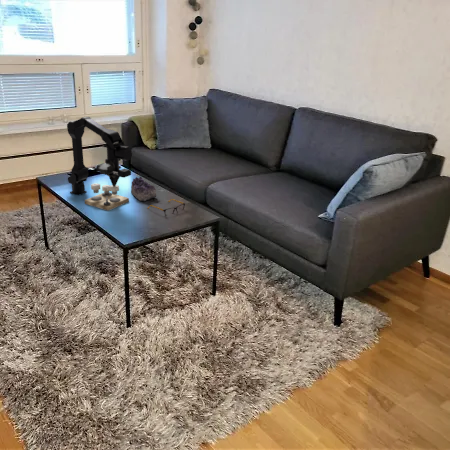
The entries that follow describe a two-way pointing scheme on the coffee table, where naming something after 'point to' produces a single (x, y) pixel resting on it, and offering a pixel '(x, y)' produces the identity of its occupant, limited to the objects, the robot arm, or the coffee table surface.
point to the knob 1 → (95, 188)
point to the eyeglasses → (170, 208)
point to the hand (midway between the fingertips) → (114, 186)
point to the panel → (101, 198)
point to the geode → (142, 189)
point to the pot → (107, 202)
